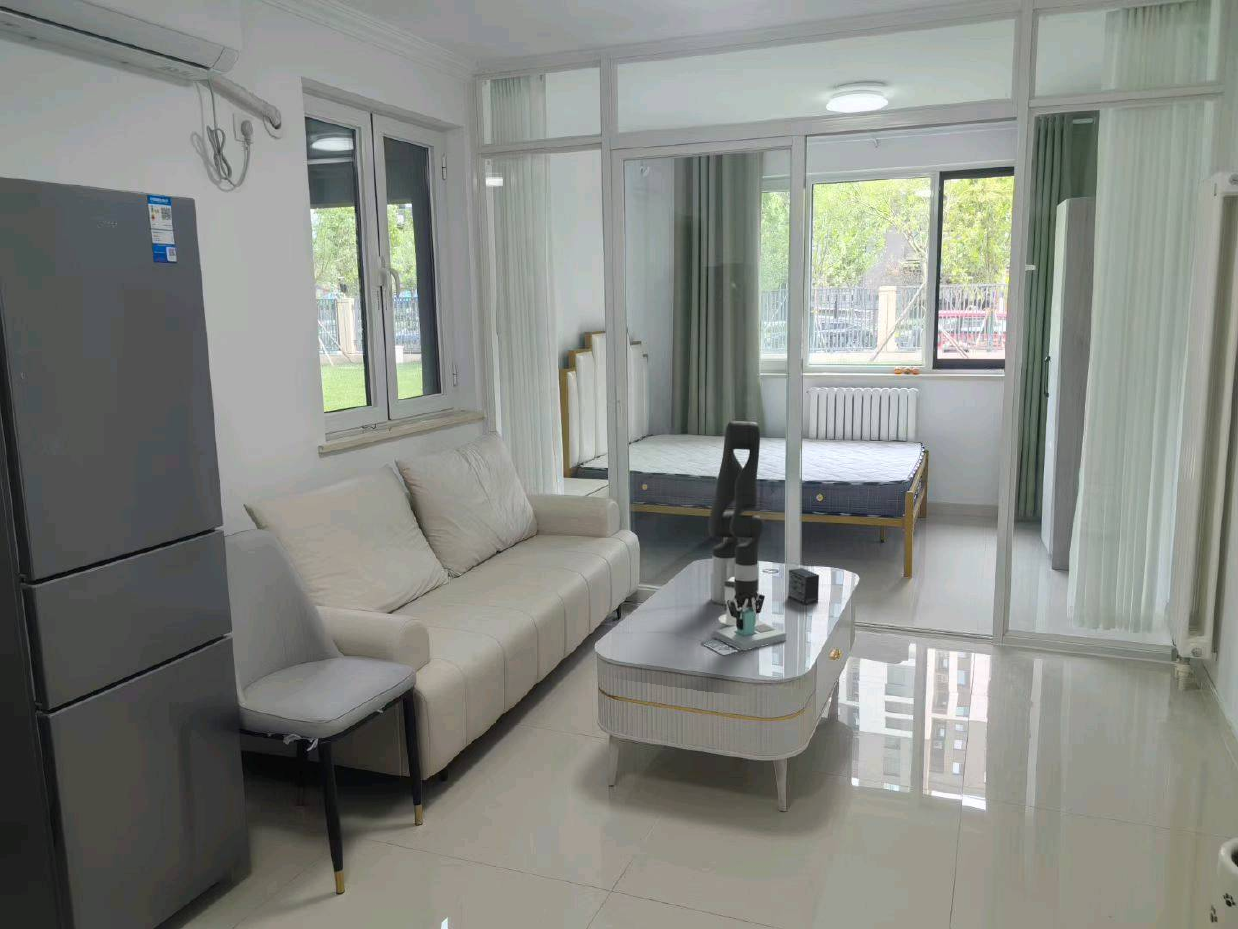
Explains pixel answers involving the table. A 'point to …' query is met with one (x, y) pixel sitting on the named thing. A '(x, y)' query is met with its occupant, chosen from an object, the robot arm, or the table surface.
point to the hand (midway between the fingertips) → (745, 627)
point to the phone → (717, 644)
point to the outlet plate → (751, 636)
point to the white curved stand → (729, 595)
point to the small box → (803, 586)
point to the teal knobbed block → (748, 623)
